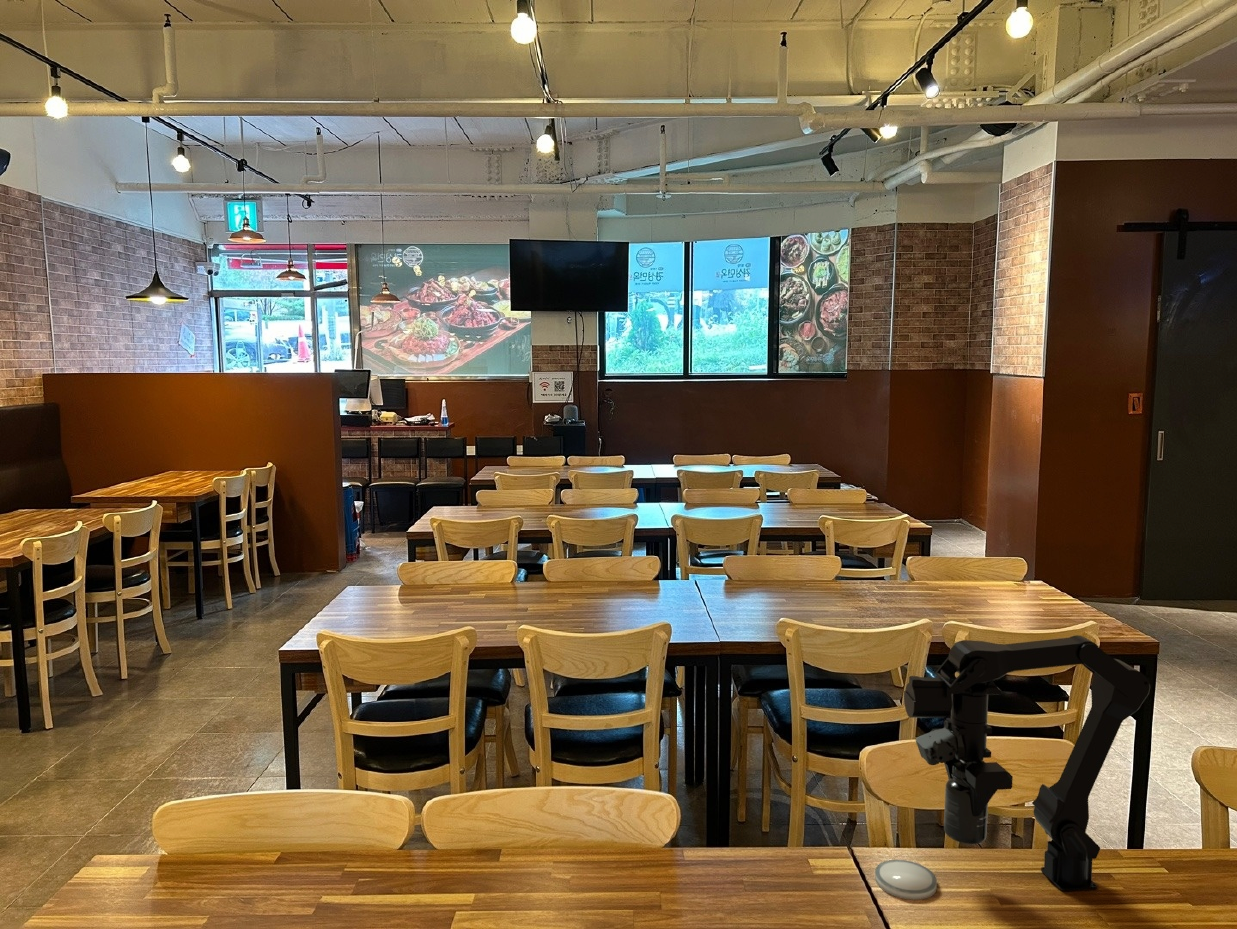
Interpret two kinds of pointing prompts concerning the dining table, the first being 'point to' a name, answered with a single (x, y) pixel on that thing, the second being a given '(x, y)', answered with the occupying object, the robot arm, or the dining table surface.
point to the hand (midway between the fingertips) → (965, 805)
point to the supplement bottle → (962, 810)
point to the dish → (905, 879)
